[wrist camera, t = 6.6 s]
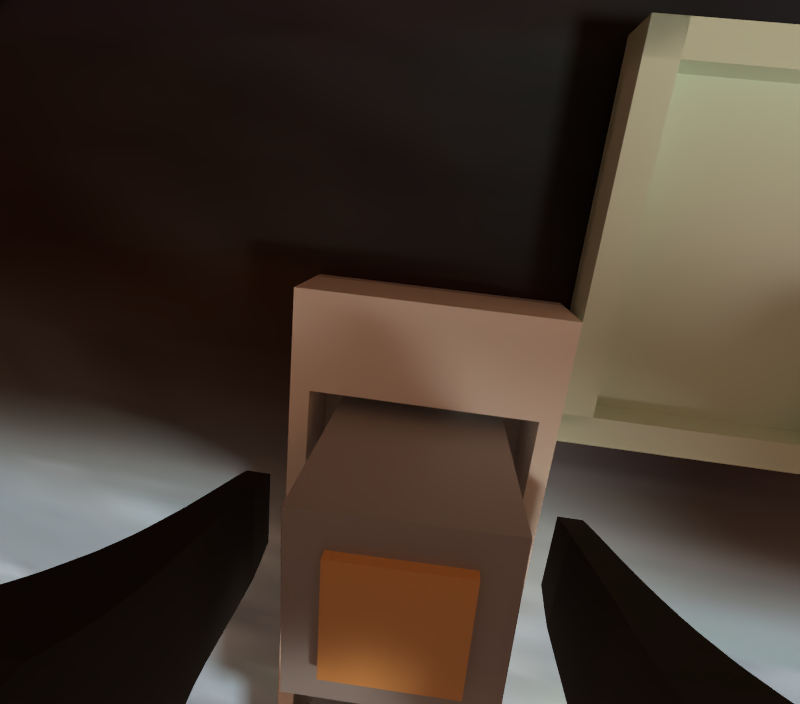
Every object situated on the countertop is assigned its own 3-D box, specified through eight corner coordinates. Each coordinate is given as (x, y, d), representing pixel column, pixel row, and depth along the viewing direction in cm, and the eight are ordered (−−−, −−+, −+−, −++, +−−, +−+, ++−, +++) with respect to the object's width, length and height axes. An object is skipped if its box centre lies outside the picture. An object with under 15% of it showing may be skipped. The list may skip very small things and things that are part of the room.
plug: (498, 402, 14) (535, 548, 8) (479, 530, 15) (498, 738, 9) (349, 386, 14) (276, 515, 8) (342, 513, 16) (276, 703, 10)
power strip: (560, 302, 13) (588, 327, 11) (445, 856, 20) (445, 957, 18) (319, 274, 14) (287, 290, 11) (289, 825, 21) (265, 920, 18)
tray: (969, 64, 11) (1042, 44, 10) (812, 454, 14) (850, 481, 13) (627, 35, 11) (652, 12, 10) (546, 418, 14) (556, 440, 13)
